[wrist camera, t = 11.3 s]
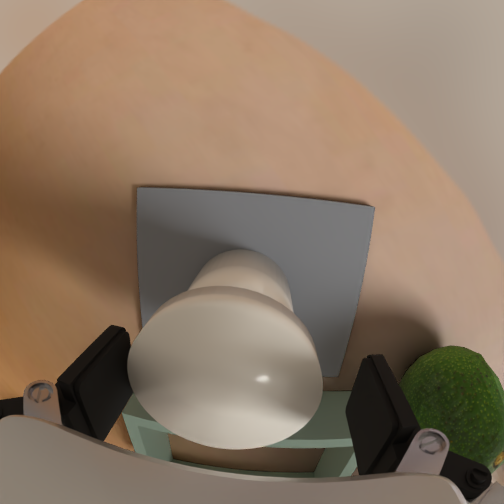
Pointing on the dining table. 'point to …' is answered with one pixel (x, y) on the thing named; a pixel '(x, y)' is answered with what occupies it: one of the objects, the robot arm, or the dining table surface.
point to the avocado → (459, 402)
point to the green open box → (310, 436)
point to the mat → (265, 242)
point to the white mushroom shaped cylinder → (228, 357)
